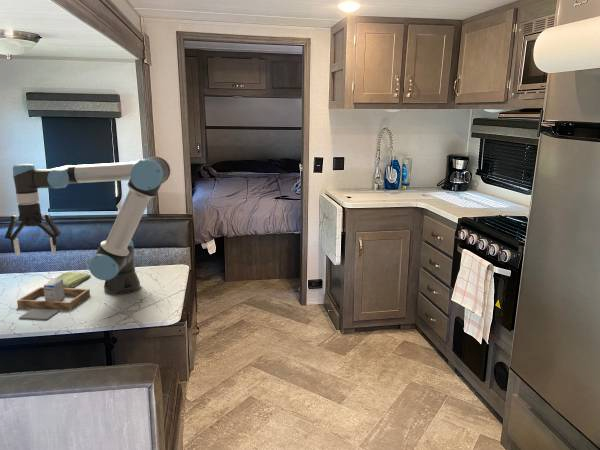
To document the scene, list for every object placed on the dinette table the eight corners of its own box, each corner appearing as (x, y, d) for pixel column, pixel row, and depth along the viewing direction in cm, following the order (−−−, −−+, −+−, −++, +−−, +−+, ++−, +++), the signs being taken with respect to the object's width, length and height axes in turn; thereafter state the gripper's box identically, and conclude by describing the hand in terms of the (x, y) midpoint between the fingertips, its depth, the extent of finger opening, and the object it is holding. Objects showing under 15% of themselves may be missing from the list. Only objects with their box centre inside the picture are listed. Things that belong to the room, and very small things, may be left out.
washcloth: (92, 277, 216) (92, 271, 215) (71, 290, 199) (70, 284, 198) (66, 276, 217) (66, 269, 217) (43, 289, 200) (42, 282, 199)
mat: (60, 310, 178) (60, 309, 178) (47, 320, 169) (46, 318, 169) (34, 309, 178) (34, 307, 178) (19, 319, 170) (19, 317, 169)
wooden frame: (90, 295, 193) (89, 289, 192) (70, 309, 178) (70, 302, 178) (41, 293, 194) (40, 287, 194) (17, 307, 180) (17, 300, 179)
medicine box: (54, 297, 190) (51, 278, 188) (64, 297, 190) (62, 278, 188) (45, 305, 182) (43, 285, 180) (56, 305, 183) (54, 285, 181)
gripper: (65, 200, 184) (71, 249, 189) (-2, 202, 180) (6, 252, 184) (59, 203, 177) (65, 254, 182) (-11, 205, 172) (-2, 258, 177)
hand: (36, 253), depth 183 cm, fingers open, 13 cm apart
